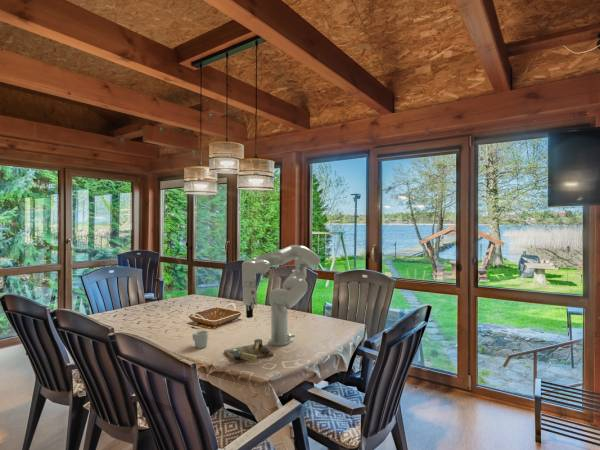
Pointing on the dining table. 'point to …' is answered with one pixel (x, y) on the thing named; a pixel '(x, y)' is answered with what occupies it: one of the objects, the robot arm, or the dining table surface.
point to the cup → (200, 339)
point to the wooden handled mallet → (244, 356)
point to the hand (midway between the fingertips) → (249, 317)
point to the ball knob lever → (257, 344)
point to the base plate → (249, 349)
